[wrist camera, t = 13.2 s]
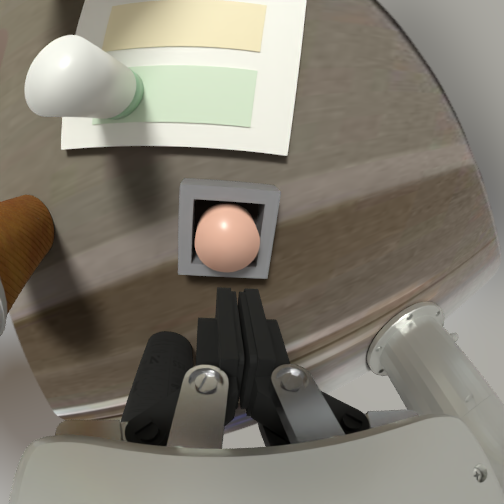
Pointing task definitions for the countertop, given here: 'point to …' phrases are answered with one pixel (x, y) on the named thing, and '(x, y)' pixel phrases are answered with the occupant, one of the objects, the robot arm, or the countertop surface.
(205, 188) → the button housing
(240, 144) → the picture board
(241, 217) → the button cap
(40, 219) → the disposable coffee cup
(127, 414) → the drinking cup
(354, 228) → the countertop surface
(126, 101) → the white cylinder
